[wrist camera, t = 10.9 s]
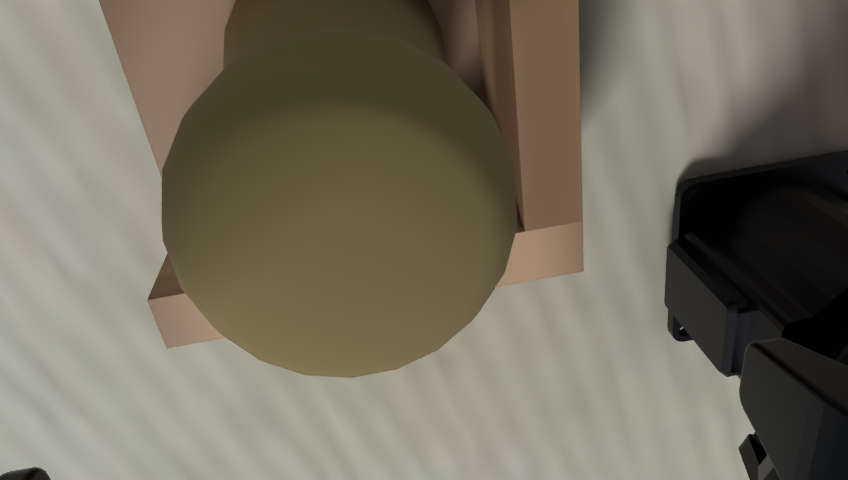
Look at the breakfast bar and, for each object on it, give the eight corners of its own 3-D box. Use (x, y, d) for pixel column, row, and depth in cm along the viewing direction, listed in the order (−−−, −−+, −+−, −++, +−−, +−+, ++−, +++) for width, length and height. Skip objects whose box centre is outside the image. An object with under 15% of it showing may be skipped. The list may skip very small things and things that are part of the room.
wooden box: (509, -226, 16) (573, -266, 12) (534, 210, 22) (583, 286, 18) (54, -160, 16) (-47, -177, 11) (203, 269, 21) (172, 363, 17)
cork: (202, 135, 19) (67, 404, 9) (249, -93, 16) (135, -62, 6) (405, 190, 20) (477, 469, 10) (477, -10, 18) (658, 114, 8)
